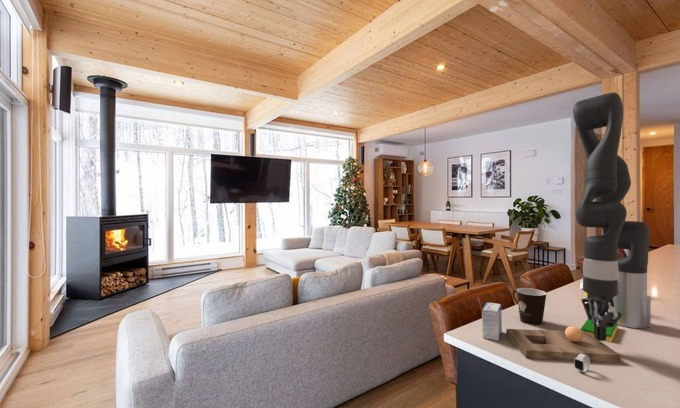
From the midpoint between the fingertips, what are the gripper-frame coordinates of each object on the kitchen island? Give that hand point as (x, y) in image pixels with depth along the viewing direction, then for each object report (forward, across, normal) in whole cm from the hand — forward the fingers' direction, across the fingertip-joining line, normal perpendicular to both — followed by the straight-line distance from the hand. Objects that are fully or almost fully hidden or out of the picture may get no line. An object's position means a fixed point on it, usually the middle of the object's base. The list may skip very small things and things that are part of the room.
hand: (599, 339), depth 89 cm
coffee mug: (+3, +21, +9) cm, 23 cm away
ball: (-1, 0, +6) cm, 7 cm away
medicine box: (+3, +7, +25) cm, 27 cm away
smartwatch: (+3, -12, +11) cm, 17 cm away
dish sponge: (+4, +13, -8) cm, 16 cm away
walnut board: (+3, 0, +10) cm, 11 cm away
